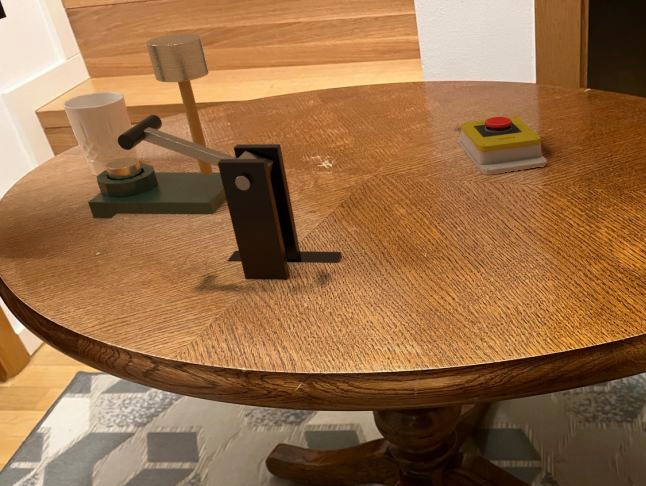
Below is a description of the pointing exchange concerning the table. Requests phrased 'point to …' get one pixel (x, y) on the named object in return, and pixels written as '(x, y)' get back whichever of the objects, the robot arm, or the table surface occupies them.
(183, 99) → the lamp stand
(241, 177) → the brown bracket stand
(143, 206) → the lamp base
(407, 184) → the table surface
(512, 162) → the emergency button
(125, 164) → the lamp button
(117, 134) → the white cup
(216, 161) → the lever
